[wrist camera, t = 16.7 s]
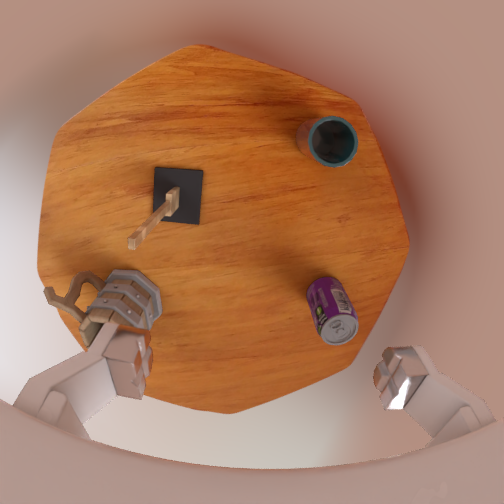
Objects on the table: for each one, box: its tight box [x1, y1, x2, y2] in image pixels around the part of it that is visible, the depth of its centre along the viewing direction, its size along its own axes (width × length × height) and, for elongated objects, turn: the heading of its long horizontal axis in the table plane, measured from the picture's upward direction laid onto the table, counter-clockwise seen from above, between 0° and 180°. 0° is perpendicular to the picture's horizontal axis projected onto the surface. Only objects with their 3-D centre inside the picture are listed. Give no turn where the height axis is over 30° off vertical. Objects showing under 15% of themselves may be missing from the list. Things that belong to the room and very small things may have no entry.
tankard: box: [44, 269, 162, 349], centre depth 46 cm, size 20×13×15 cm, turn 44°
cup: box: [296, 116, 358, 167], centre depth 38 cm, size 7×7×10 cm
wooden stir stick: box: [128, 187, 180, 250], centre depth 36 cm, size 3×1×20 cm, turn 173°
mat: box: [153, 167, 203, 225], centre depth 46 cm, size 9×8×1 cm
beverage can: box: [307, 277, 358, 345], centre depth 48 cm, size 7×7×12 cm
